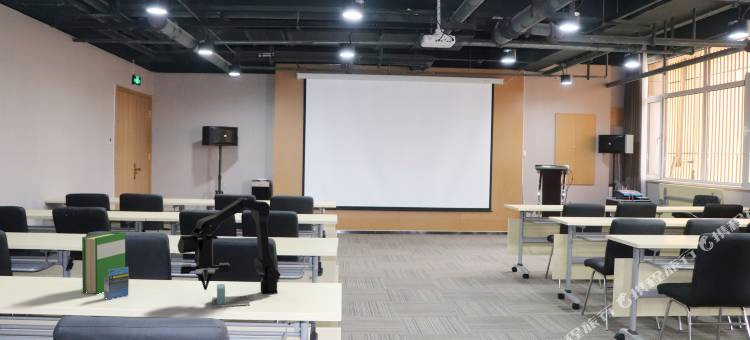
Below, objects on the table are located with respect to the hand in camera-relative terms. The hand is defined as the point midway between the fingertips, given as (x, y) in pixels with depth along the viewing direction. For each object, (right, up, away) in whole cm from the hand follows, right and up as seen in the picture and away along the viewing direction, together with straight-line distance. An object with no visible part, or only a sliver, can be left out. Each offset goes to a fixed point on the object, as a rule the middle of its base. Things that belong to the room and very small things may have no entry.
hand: (205, 289), depth 236 cm
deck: (+6, -5, +2) cm, 8 cm away
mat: (+10, -5, +3) cm, 11 cm away
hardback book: (-50, -5, +21) cm, 54 cm away
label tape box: (-39, -5, +9) cm, 41 cm away
